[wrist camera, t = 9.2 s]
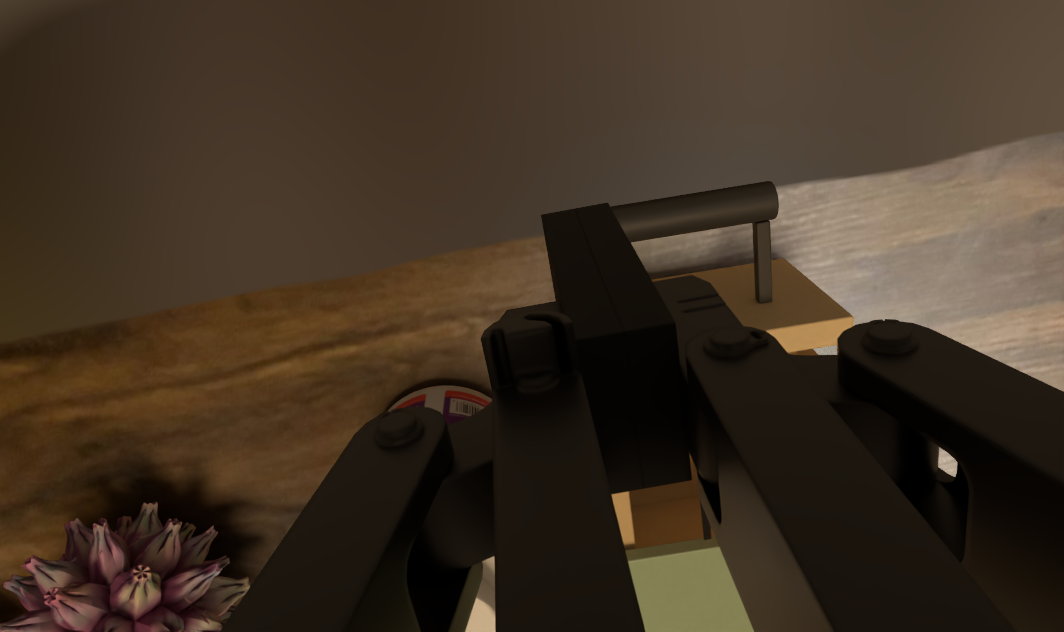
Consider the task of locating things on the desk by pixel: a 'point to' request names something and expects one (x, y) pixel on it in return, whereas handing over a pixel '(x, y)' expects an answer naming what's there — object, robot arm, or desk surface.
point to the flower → (127, 581)
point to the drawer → (755, 299)
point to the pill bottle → (454, 408)
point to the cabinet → (686, 588)
